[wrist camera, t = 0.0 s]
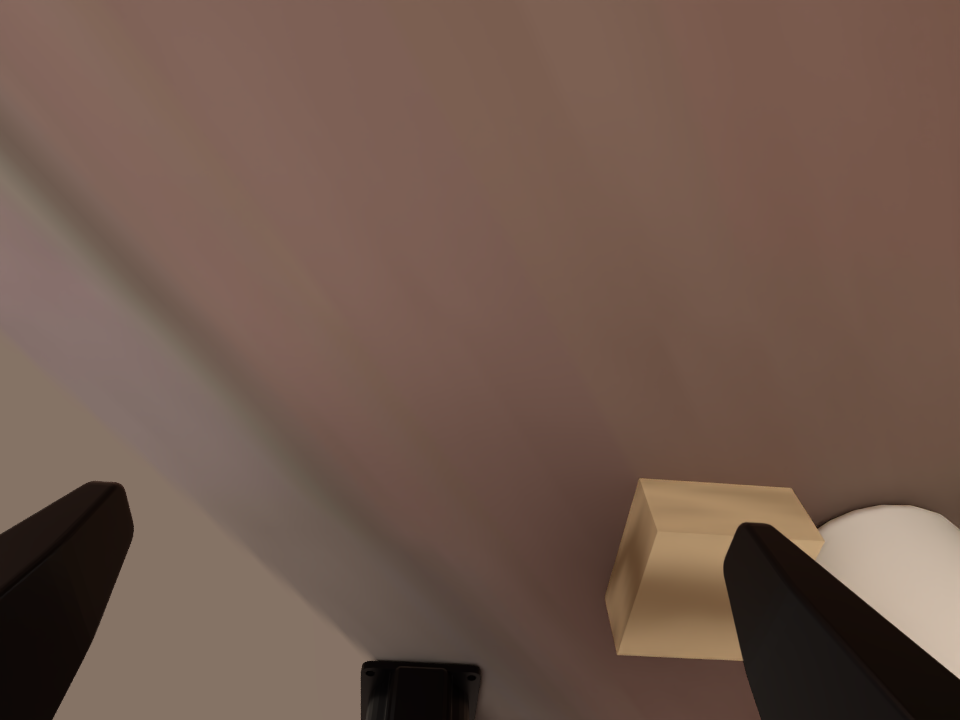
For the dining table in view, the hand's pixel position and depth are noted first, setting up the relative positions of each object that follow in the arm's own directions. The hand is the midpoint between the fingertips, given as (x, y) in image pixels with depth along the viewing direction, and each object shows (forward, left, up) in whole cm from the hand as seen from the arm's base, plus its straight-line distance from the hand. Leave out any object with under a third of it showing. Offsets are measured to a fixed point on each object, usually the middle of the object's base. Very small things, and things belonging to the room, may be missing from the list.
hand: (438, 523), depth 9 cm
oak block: (-15, -13, -15) cm, 25 cm away
